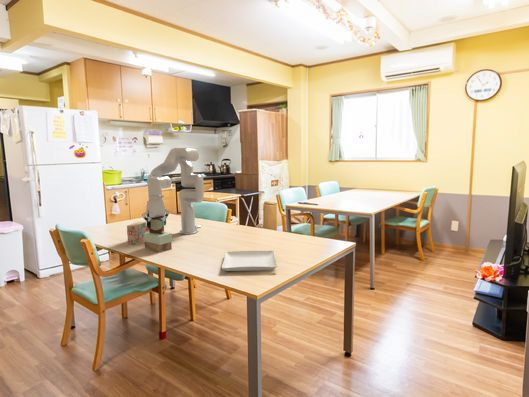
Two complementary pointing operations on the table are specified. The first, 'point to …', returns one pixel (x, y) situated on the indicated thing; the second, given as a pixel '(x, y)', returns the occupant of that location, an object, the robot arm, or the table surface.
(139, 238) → the stack of blocks
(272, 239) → the table surface
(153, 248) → the tower base slab
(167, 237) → the tower top slab
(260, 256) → the square plate
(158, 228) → the food container
